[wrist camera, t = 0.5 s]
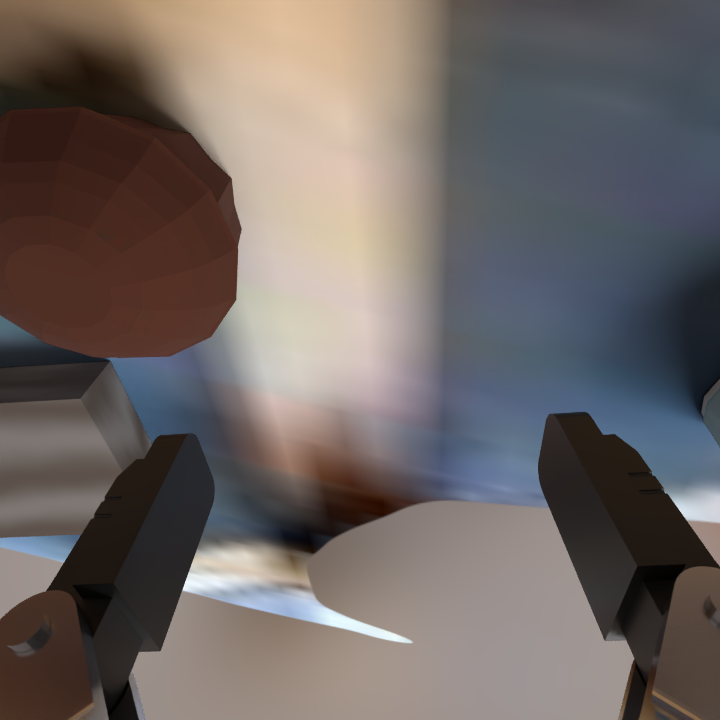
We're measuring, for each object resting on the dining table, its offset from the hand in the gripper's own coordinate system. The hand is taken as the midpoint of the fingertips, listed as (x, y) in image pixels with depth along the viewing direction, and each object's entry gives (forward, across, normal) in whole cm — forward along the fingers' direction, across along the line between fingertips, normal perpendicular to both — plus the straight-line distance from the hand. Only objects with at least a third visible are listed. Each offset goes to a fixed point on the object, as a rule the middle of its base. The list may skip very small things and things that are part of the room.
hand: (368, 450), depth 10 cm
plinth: (+18, +26, +15) cm, 35 cm away
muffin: (+18, +12, -2) cm, 21 cm away
